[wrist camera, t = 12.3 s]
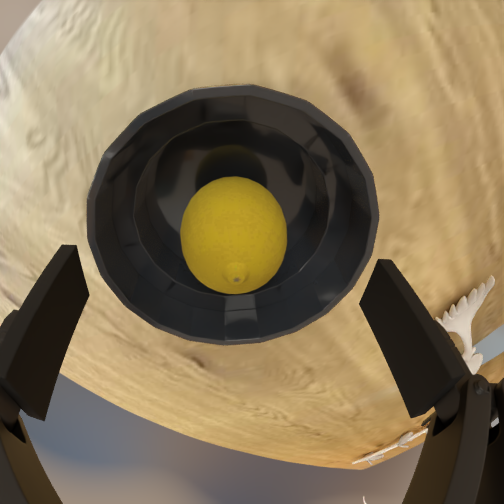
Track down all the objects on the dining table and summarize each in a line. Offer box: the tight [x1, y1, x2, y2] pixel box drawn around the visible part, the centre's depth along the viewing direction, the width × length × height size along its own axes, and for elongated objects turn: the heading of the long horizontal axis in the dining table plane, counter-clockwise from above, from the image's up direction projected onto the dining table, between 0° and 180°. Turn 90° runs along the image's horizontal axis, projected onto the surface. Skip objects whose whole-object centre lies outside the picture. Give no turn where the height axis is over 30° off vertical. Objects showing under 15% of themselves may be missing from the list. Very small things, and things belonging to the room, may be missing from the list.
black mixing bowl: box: [87, 84, 379, 346], centre depth 17 cm, size 15×15×6 cm
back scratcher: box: [435, 275, 495, 375], centre depth 32 cm, size 9×32×4 cm, turn 36°
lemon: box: [180, 176, 287, 294], centre depth 15 cm, size 6×6×8 cm
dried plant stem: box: [352, 424, 429, 504], centre depth 52 cm, size 12×19×40 cm
